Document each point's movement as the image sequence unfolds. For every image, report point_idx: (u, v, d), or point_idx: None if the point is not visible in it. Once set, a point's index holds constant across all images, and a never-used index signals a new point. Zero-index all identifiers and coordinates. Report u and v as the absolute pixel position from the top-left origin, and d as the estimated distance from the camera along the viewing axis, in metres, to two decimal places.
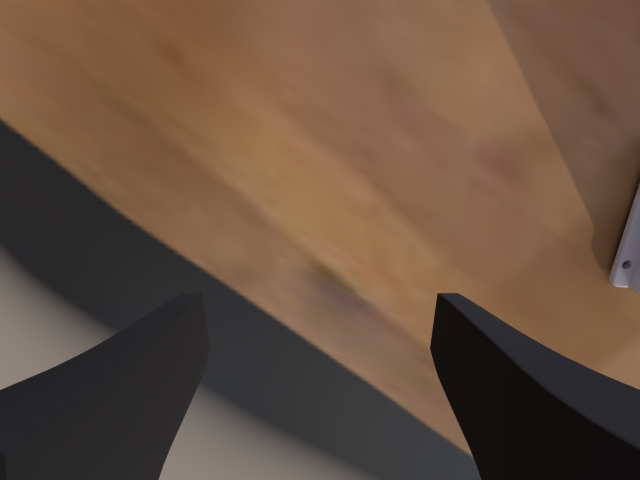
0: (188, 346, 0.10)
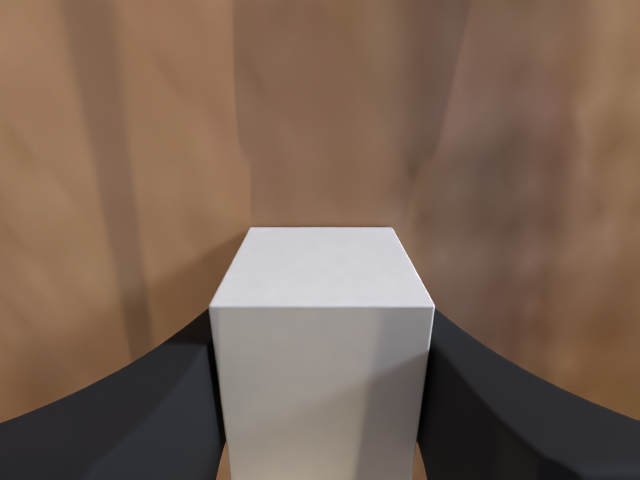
0: None
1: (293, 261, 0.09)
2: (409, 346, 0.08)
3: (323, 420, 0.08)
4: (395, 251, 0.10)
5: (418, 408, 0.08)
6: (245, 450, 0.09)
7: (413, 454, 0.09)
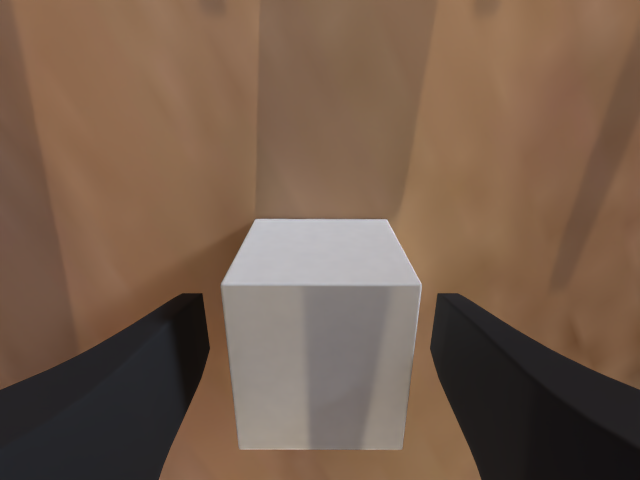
0: (188, 346, 0.10)
1: (295, 247, 0.10)
2: (399, 321, 0.08)
3: (322, 390, 0.09)
4: (389, 239, 0.11)
5: (408, 379, 0.09)
6: (252, 418, 0.10)
7: (404, 422, 0.10)
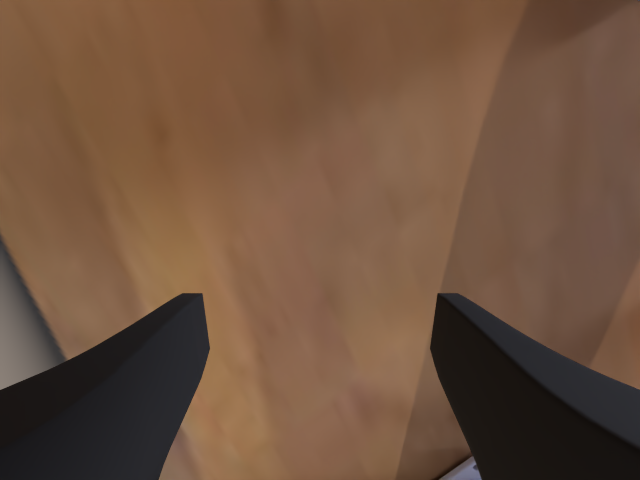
0: (188, 346, 0.10)
1: None
2: None
3: None
4: None
5: None
6: None
7: None
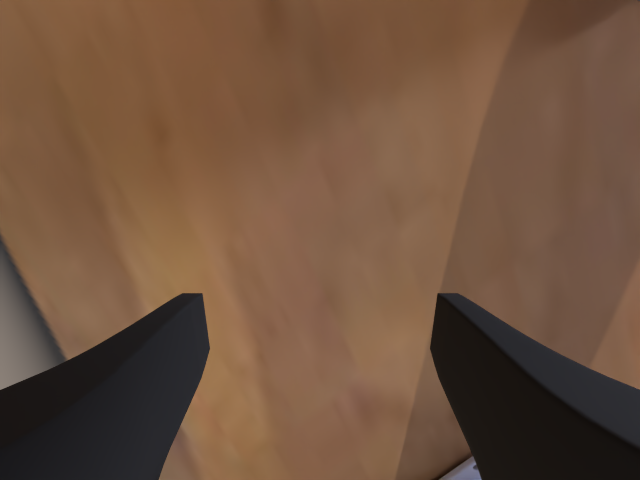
0: (188, 346, 0.10)
1: None
2: None
3: None
4: None
5: None
6: None
7: None
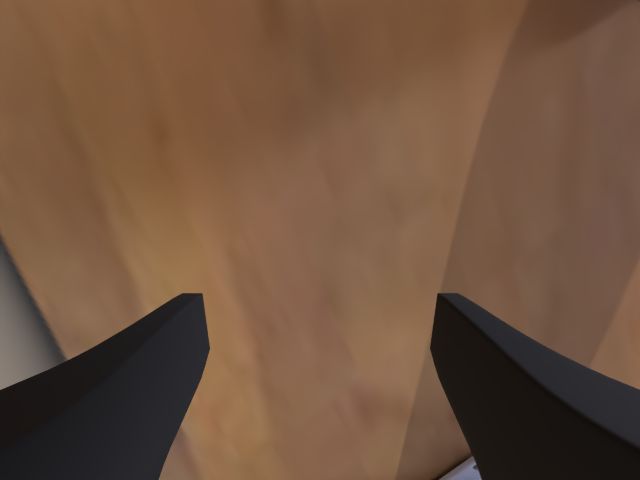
0: (188, 346, 0.10)
1: None
2: None
3: None
4: None
5: None
6: None
7: None
